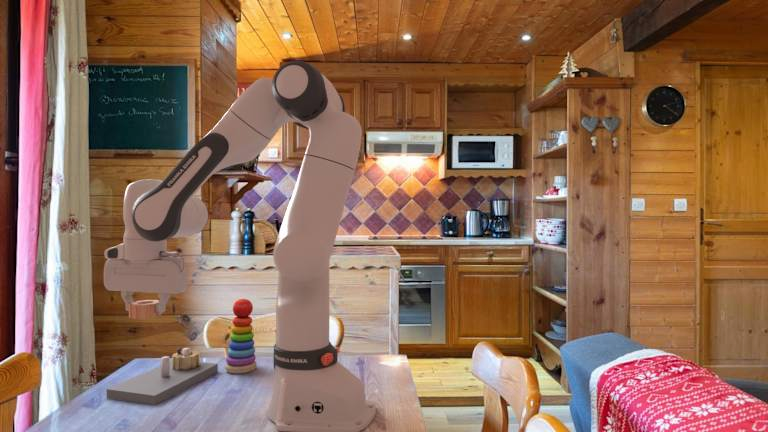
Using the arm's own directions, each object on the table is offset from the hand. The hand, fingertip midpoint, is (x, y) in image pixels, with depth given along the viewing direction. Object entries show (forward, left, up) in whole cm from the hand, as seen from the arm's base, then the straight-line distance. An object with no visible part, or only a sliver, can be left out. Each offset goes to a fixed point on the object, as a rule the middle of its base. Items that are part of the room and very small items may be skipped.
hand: (145, 311), depth 105 cm
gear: (0, -14, -17) cm, 22 cm away
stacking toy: (-11, -21, -19) cm, 30 cm away
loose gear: (0, 0, -1) cm, 1 cm away
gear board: (0, -7, -19) cm, 20 cm away
